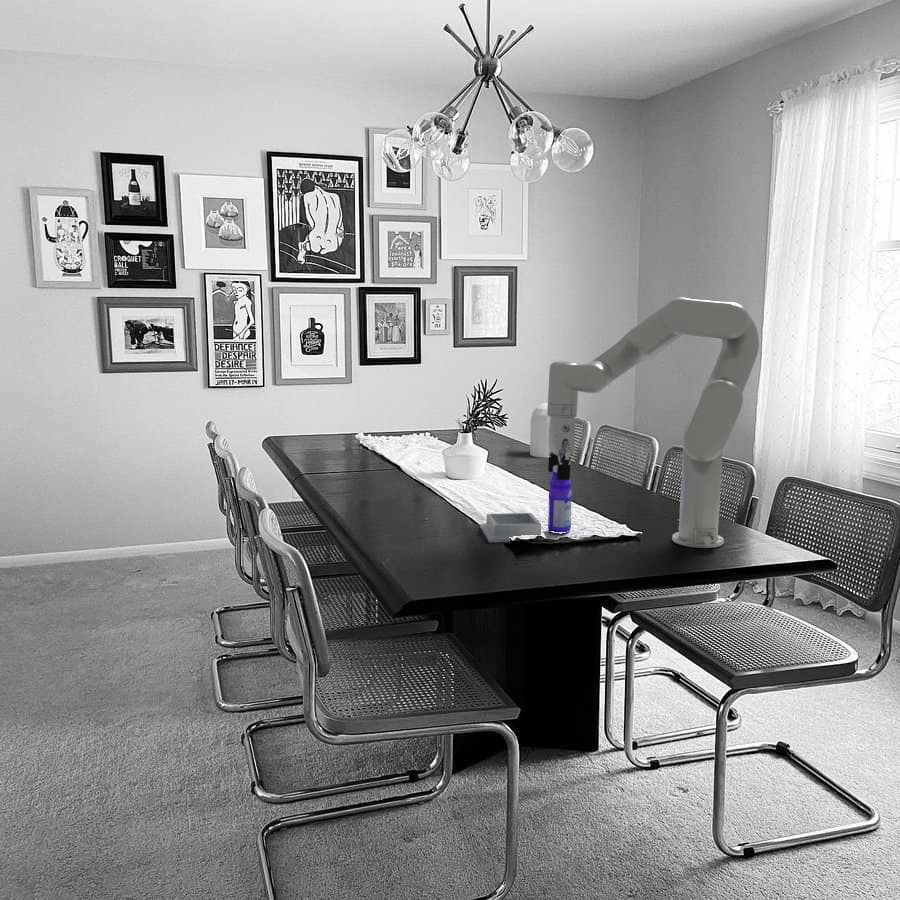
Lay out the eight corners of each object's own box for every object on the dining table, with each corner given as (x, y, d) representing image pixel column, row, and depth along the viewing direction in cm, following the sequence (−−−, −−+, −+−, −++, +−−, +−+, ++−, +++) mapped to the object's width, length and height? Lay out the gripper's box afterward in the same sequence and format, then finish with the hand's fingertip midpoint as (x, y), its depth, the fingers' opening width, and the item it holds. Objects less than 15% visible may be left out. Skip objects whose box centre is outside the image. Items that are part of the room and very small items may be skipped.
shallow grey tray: (547, 540, 233) (548, 525, 232) (489, 542, 231) (489, 526, 230) (535, 525, 248) (535, 511, 247) (479, 527, 246) (480, 512, 245)
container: (525, 451, 359) (526, 400, 356) (558, 451, 362) (560, 400, 358) (535, 458, 346) (536, 405, 343) (569, 457, 349) (571, 404, 345)
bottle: (566, 536, 237) (568, 469, 234) (544, 534, 240) (546, 468, 236) (573, 529, 244) (575, 464, 241) (552, 527, 246) (554, 463, 243)
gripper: (585, 415, 228) (581, 483, 231) (568, 405, 245) (564, 469, 248) (555, 415, 227) (552, 483, 230) (540, 405, 244) (537, 468, 247)
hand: (558, 475), depth 239 cm, fingers open, 9 cm apart
